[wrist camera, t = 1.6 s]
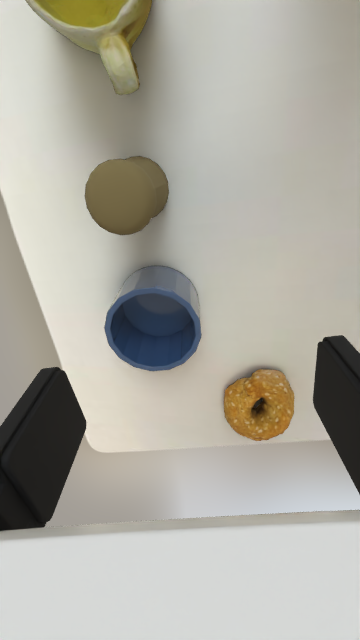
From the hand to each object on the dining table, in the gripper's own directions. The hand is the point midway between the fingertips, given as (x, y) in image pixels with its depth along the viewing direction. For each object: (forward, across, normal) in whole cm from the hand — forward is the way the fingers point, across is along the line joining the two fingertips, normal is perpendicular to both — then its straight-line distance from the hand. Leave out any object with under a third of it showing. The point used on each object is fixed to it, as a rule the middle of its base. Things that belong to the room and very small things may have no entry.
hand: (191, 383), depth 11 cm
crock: (+24, +5, +7) cm, 26 cm away
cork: (+24, +4, -6) cm, 25 cm away
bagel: (+24, -7, +24) cm, 35 cm away
